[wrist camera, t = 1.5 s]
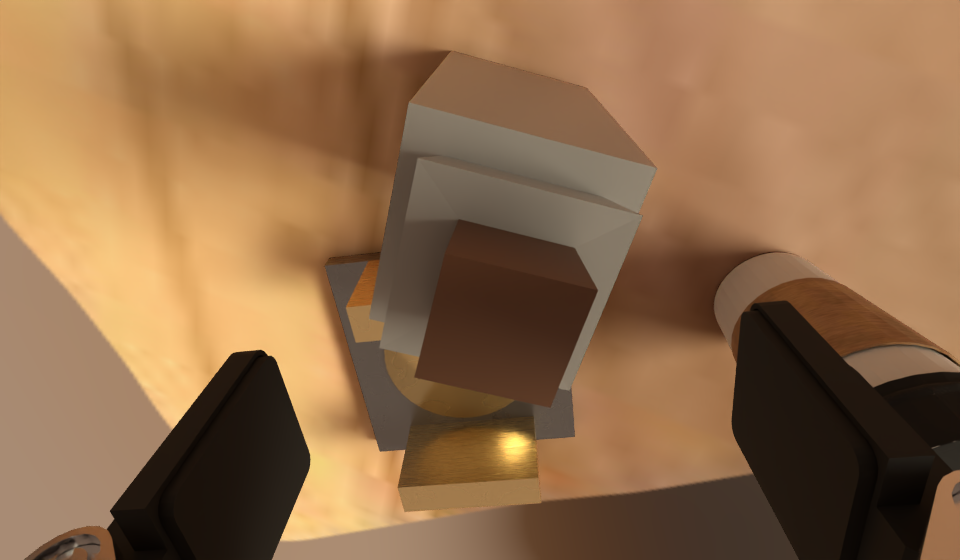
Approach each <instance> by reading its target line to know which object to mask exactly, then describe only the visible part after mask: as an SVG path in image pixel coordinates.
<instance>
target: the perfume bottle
mask: <svg viewBox="0 0 960 560" xmlns="http://www.w3.org/2000/svg"><path fill="white" fill-rule="evenodd" d="M656 170H657V167H656V166H655V165H654V164H653V163H652V162H651V160H650V159H649V158H648V157H647V156H646V155H645V154H644V152H643V151H642V150H641V149H640V148H639V147H638V146H637V144H636V143H635V142H634V141H633V140H632V139H631V138H630V136H629V135H628V134H627V133H626V132H625V131H624V130H623V128H622V127H621V126H620V125H619V124H618V123H617V122H616V120H615V119H614V118H613V117H612V116H611V115H610V114H609V112H608V111H607V110H606V109H605V108H604V107H603V106H602V104H601V103H600V102H599V101H598V100H597V99H596V98H595V96H594V95H593V94H592V93H591V92H590V91H589V89H588V88H585V87H581V86H578V85H574V84H571V83H567V82H563V81H560V80H556V79H552V78H549V77H545V76H541V75H538V74H534V73H531V72H527V71H523V70H520V69H516V68H512V67H509V66H505V65H501V64H498V63H494V62H491V61H487V60H483V59H480V58H476V57H472V56H469V55H465V54H462V53H458V52H454V51H451V52H450V53H449V54H448V55H447V57H446V58H445V59H444V60H443V61H442V63H441V64H440V65H439V66H438V68H437V69H436V70H435V71H434V72H433V74H432V75H431V76H430V77H429V78H428V80H427V81H426V82H425V83H424V84H423V86H422V87H421V88H420V89H419V91H418V92H417V93H416V94H415V95H414V97H413V98H412V99H411V100H410V101H409V104H408V109H407V115H406V120H405V126H404V131H403V136H402V142H401V147H400V153H399V158H398V163H397V169H396V174H395V180H394V185H393V190H392V196H391V201H390V207H389V212H388V218H387V223H386V228H385V234H384V239H383V245H382V250H381V255H380V261H379V266H378V272H377V277H376V282H375V288H374V293H373V299H372V304H371V309H370V315H369V319H371V320H376V321H380V322H384V327H383V332H382V337H381V342H380V347H379V348H382V349H386V350H391V351H395V352H399V353H404V354H408V355H413V356H417V357H419V360H418V364H417V368H416V372H415V376H414V378H418V379H423V380H427V381H432V382H436V383H441V384H445V385H450V386H454V387H459V388H463V389H468V390H472V391H477V392H481V393H486V394H490V395H495V396H499V397H504V398H508V399H513V400H517V401H522V402H526V403H531V404H535V405H540V406H544V407H549V408H551V405H552V403H553V400H554V398H555V395H556V393H557V390H558V388H559V389H564V390H568V391H569V390H570V388H571V386H572V383H573V381H574V378H575V376H576V374H577V371H578V369H579V367H580V364H581V362H582V359H583V357H584V355H585V352H586V350H587V348H588V345H589V343H590V340H591V338H592V336H593V333H594V331H595V329H596V326H597V324H598V321H599V319H600V317H601V314H602V312H603V309H604V307H605V305H606V302H607V300H608V298H609V295H610V293H611V290H612V288H613V286H614V283H615V281H616V279H617V276H618V274H619V271H620V269H621V267H622V264H623V262H624V260H625V257H626V255H627V252H628V250H629V248H630V245H631V243H632V241H633V238H634V236H635V233H636V231H637V229H638V226H639V224H640V222H641V219H642V217H643V216H642V215H640V214H638V213H639V211H640V209H641V206H642V204H643V201H644V199H645V197H646V194H647V192H648V189H649V187H650V185H651V182H652V180H653V177H654V175H655V172H656Z"/></svg>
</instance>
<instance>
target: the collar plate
mask: <svg viewBox="0 0 960 560" xmlns="http://www.w3.org/2000/svg"><path fill="white" fill-rule="evenodd" d="M380 255H381V252H379V253H370V254H361V255H352V256H343V257H334V258H329V260H328V261H327V263H326V264H325V269H326V272H327V275H328V279H329V282H330V285H331V289H332V292H333V296H334V299H335V302H336V306H337V309H338V312H339V316H340V319H341V322H342V326H343V329H344V333H345V336H346V339H347V343H348V346H349V349H350V353H351V356H352V360H353V363H354V366H355V370H356V373H357V376H358V380H359V383H360V386H361V390H362V393H363V397H364V400H365V403H366V407H367V410H368V413H369V417H370V420H371V423H372V427H373V430H374V434H375V437H376V440H377V444H378V447H379V450H380V452H381V451H394V450H405V455H404V460H403V465H402V470H401V474H400V479H399V484H398V490H399V494H400V497H401V501H402V504H403V508H404V511H405V512H410V511H425V510H440V509H456V508H471V507H486V506H502V505H517V504H533V503H541V493H540V480H539V467H538V454H537V441H536V440H539V439H552V438H565V437H575V431H574V418H573V404H572V391H571V388H570V390H569V391H568V390H564V389H559V388H558V390H557V393H556V395H555V398H554V400H553V403H552V405H551V408H549V407H544V406H540V405H535V404H531V403H526V402H522V401H517V400H513V399H508V398H504V397H499V396H495V395H490V394H486V393H481V392H477V391H472V390H468V389H463V388H459V387H454V386H450V385H445V384H441V383H436V382H432V381H427V380H423V379H418V378H414V376H415V372H416V368H417V364H418V360H419V357H417V356H413V355H408V354H404V353H399V352H395V351H391V350H386V349H382V348H379V347H380V342H381V337H382V332H383V327H384V322H380V321H376V320H371V319H369V315H370V309H371V304H372V299H373V293H374V288H375V282H376V277H377V272H378V266H379V261H380Z"/></svg>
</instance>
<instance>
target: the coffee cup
mask: <svg viewBox="0 0 960 560" xmlns="http://www.w3.org/2000/svg"><path fill="white" fill-rule="evenodd" d="M782 300H785V301H788V302H789V303H791V304H792V306H793V307H794V308H795V309H796V310H797V311H798V312H799V313H800V314H801V315H802V316H803V317H804V318H805V319H806V320H807V321H808V322H809V323H810V324H811V325H812V327H813V328H814V329H815V330H816V331H817V332H818V333H819V334H820V335H821V336H822V337H823V338H824V339H825V340H826V341H827V342H828V343H829V344H830V345H831V347H832V348H833V349H834V350H835V351H836V352H837V353H838V354H839V355H840V356H841V357H842V358H843V359H844V360H845V361H846V362H847V363H848V364H849V365H850V366H852V367H853V368H854V369H855V370H857V371H858V372H859V373H860V374H861V375H862V376H863V377H864V378H865V379H866V380H867V382H868V383H869V384H870V385H871V386H872V387H873V388H874V389H875V390H876V391H877V392H878V393H879V394H880V395H881V396H882V397H883V398H884V399H885V400H886V401H887V402H888V403H889V404H890V406H891V407H892V408H893V409H894V410H895V411H896V412H897V413H898V414H899V415H900V416H901V417H902V418H903V419H904V420H905V421H906V422H907V423H908V424H909V425H910V426H911V427H912V428H913V430H914V431H915V432H916V433H917V434H918V435H919V436H920V437H921V438H922V439H923V440H924V441H925V442H926V443H927V444H928V445H929V446H930V447H931V448H932V449H933V450H934V451H935V452H936V454H937V455H938V456H939V457H940V458H941V459H942V460H943V461H944V462H945V463H946V464H947V465H948V466H949V467H950V468H951V469H952V470H953V471H958V470H960V361H959V360H957V359H956V358H955V357H954V356H952V355H951V354H950V353H948V352H947V351H945V350H944V349H942V348H940V347H939V346H937V345H936V344H934V343H933V342H931V341H930V340H928V339H927V338H925V337H923V336H922V335H920V334H919V333H917V332H916V331H914V330H913V329H911V328H910V327H908V326H907V325H905V324H903V323H902V322H900V321H899V320H897V319H896V318H894V317H893V316H891V315H890V314H888V313H886V312H885V311H883V310H882V309H880V308H879V307H877V306H876V305H874V304H873V303H871V302H870V301H868V300H866V299H865V298H863V297H862V296H860V295H859V294H857V293H856V292H854V291H853V290H851V289H849V288H848V287H846V286H845V285H843V284H840V283H839V282H837V281H836V280H835V279H833V278H832V277H830V276H829V275H828V274H826V273H825V272H823V271H822V270H820V269H819V268H818V267H816V266H815V265H813V264H812V263H810V262H809V261H807V260H806V259H804V258H802V257H799V256H797V255H794V254H789V253H779V252H774V253H767V254H762V255H759V256H756V257H753V258H751V259H749V260H747V261H745V262H743V263H741V264H740V265H738V266H737V267H735V268H734V269H733V270H732V271H731V272H730V273H729V274H728V275H727V276H726V277H725V279H724V280H723V281H722V283H721V284H720V286H719V288H718V290H717V292H716V296H715V300H714V312H715V317H716V320H717V322H718V324H719V326H720V328H721V330H722V332H723V334H724V336H725V338H726V340H727V342H728V344H729V346H730V348H731V350H732V352H733V356H734V359H735V361H736V363H737V354H738V343H739V332H740V321H741V315H742V313H743V312H746V311H750V308H751V306H752V305H753V304H754V303H761V302H772V301H782Z"/></svg>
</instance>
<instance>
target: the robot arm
mask: <svg viewBox="0 0 960 560" xmlns="http://www.w3.org/2000/svg"><path fill="white" fill-rule="evenodd" d="M732 429H733V434H734V437H735V439H736V441H737V443H738V445H739V447H740V449H741V451H742V453H743V455H744V456H745V458H746V460H747V462H748V464H749V466H750V468H751V470H752V472H753V473H754V475H755V477H756V479H757V481H758V483H759V485H760V487H761V489H762V490H763V492H764V494H765V496H766V498H767V500H768V502H769V504H770V506H771V507H772V509H773V511H774V513H775V515H776V517H777V519H778V520H779V523H780V524H781V526H782V528H783V530H784V532H785V534H786V535H787V538H788V539H789V541H790V543H791V545H792V547H793V549H794V551H795V553H796V555H797V556H798V558H799V560H960V470H958V471H953V470H952V469H951V468H950V467H949V466H948V465H947V464H946V463H945V462H944V461H943V460H942V459H941V458H940V457H939V456H938V455H937V454H936V452H935V451H934V450H933V449H932V448H931V447H930V446H929V445H928V444H927V443H926V442H925V441H924V440H923V439H922V438H921V437H920V436H919V435H918V434H917V433H916V432H915V431H914V430H913V428H912V427H911V426H910V425H909V424H908V423H907V422H906V421H905V420H904V419H903V418H902V417H901V416H900V415H899V414H898V413H897V412H896V411H895V410H894V409H893V408H892V407H891V406H890V404H889V403H888V402H887V401H886V400H885V399H884V398H883V397H882V396H881V395H880V394H879V393H878V392H877V391H876V390H875V389H874V388H873V387H872V386H871V385H870V384H869V383H868V382H867V380H866V379H865V378H864V377H863V376H862V375H861V374H860V373H859V372H858V371H857V370H855V369H854V368H853V367H852V366H850V365H849V364H848V363H847V362H846V361H845V360H844V359H843V358H842V357H841V356H840V355H839V354H838V353H837V352H836V351H835V350H834V349H833V348H832V347H831V345H830V344H829V343H828V342H827V341H826V340H825V339H824V338H823V337H822V336H821V335H820V334H819V333H818V332H817V331H816V330H815V329H814V328H813V327H812V325H811V324H810V323H809V322H808V321H807V320H806V319H805V318H804V317H803V316H802V315H801V314H800V313H799V312H798V311H797V310H796V309H795V308H794V307H793V306H792V304H791V303H789V302H788V301H785V300H782V301H772V302H761V303H754V304H753V305H752V306H751V308H750V311H746V312H743V313H742V315H741V321H740V332H739V343H738V354H737V366H736V377H735V388H734V399H733V410H732ZM309 468H310V453H309V450H308V447H307V445H306V442H305V439H304V436H303V434H302V431H301V428H300V425H299V422H298V420H297V417H296V414H295V411H294V409H293V406H292V403H291V400H290V398H289V395H288V392H287V389H286V387H285V384H284V381H283V378H282V376H281V373H280V370H279V367H278V365H277V362H276V360H275V359H274V357H272V356H268V355H267V354H266V353H265V352H264V351H262V350H255V351H244V352H235V353H233V354H231V355H230V356H229V358H228V359H227V360H226V362H225V363H224V364H223V365H222V367H221V368H220V369H219V371H218V372H217V373H216V375H215V376H214V377H213V378H212V380H211V381H210V382H209V384H208V385H207V386H206V387H205V389H204V390H203V391H202V393H201V394H200V395H199V396H198V398H197V399H196V400H195V402H194V403H193V404H192V405H191V407H190V408H189V409H188V411H187V412H186V413H185V415H184V416H183V417H182V418H181V420H180V421H179V422H178V424H177V425H176V426H175V427H174V429H173V430H172V431H171V433H170V434H169V435H168V437H167V438H166V439H165V441H164V442H163V443H162V444H161V446H160V447H159V448H158V450H157V451H156V452H155V453H154V455H153V456H152V457H151V458H150V460H149V461H148V462H147V464H146V465H145V466H144V468H143V469H142V470H141V471H140V473H139V474H138V475H137V477H136V478H135V479H134V481H133V482H132V483H131V484H130V486H129V487H128V488H127V490H126V491H125V492H124V493H123V495H122V496H121V497H120V499H119V500H118V501H117V502H116V504H115V505H114V506H113V508H112V509H111V510H110V512H111V514H112V515H113V517H114V520H113V522H112V523H111V524H110V526H109V527H108V528H107V530H106V529H104V528H102V527H100V526H86V527H82V528H77V529H74V530H71V531H68V532H66V533H64V534H62V535H59V536H57V537H55V538H54V539H52V540H50V541H49V542H47V543H45V544H43V545H42V546H40V547H39V548H38V549H37V550H35V551H34V552H33V553H32V554H30V555H29V556H28V557H27V558H25V559H24V560H272V558H273V555H274V553H275V550H276V548H277V545H278V543H279V541H280V538H281V536H282V534H283V531H284V529H285V526H286V524H287V522H288V519H289V517H290V514H291V512H292V510H293V507H294V505H295V502H296V500H297V498H298V495H299V493H300V490H301V488H302V486H303V483H304V481H305V478H306V476H307V474H308V471H309Z"/></svg>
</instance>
